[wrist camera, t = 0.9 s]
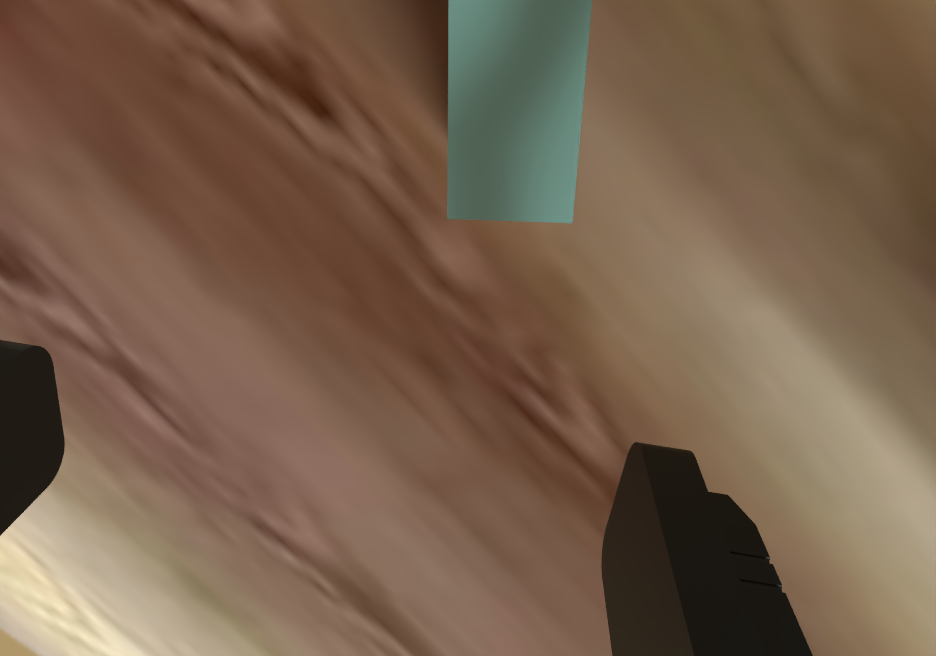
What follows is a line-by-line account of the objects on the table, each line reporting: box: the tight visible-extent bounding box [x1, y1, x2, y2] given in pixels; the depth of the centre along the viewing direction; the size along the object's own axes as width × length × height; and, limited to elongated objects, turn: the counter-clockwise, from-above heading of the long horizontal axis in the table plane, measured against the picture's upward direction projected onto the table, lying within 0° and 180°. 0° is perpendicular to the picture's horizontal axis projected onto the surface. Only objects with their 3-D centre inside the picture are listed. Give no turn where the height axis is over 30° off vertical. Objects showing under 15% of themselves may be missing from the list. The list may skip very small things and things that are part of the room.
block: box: [447, 0, 592, 223], centre depth 25 cm, size 4×7×9 cm, turn 179°
